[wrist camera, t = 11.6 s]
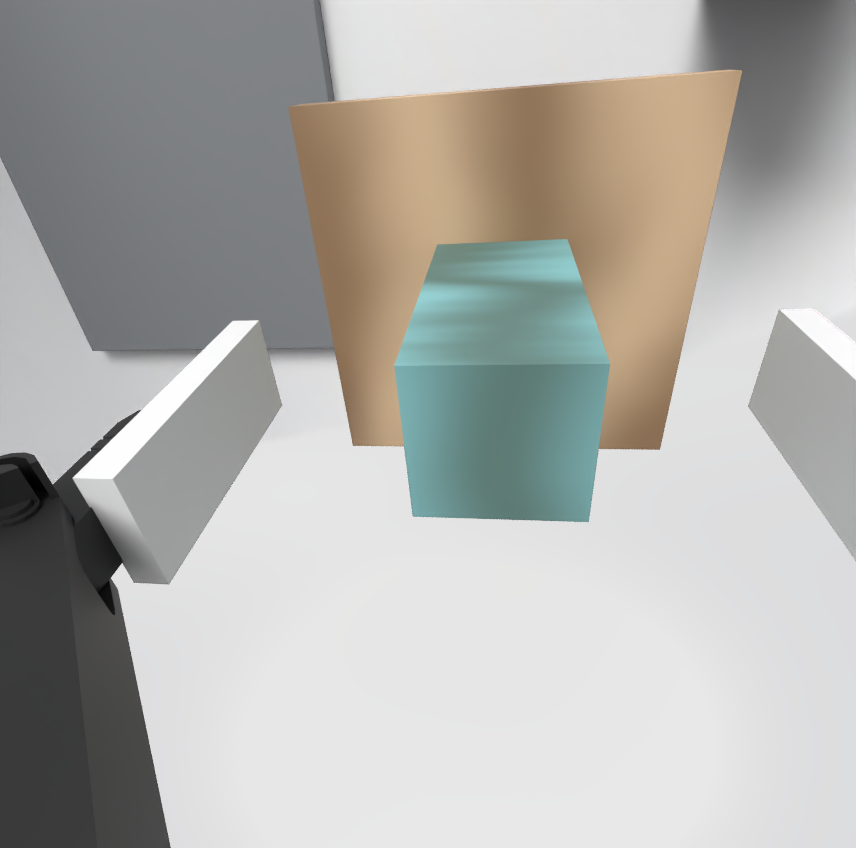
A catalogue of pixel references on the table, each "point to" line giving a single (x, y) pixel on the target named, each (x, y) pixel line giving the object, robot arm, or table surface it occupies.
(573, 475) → the lid
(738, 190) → the table surface
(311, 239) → the mat
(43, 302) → the table surface
